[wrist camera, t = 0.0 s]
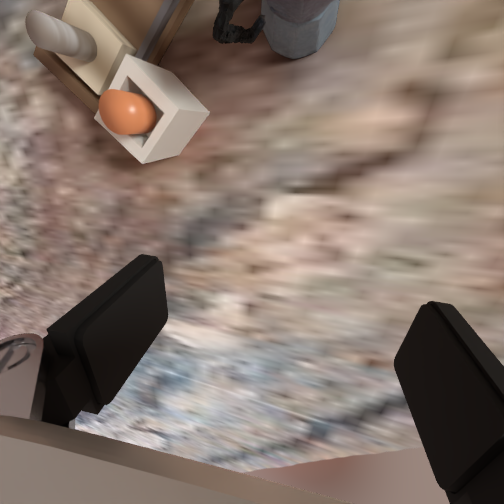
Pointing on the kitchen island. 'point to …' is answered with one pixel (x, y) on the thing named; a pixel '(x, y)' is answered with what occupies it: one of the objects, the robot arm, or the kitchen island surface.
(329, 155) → the kitchen island surface
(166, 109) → the white knob block
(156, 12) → the rail bed
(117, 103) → the brown egg
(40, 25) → the square knob plate
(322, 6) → the moka pot
